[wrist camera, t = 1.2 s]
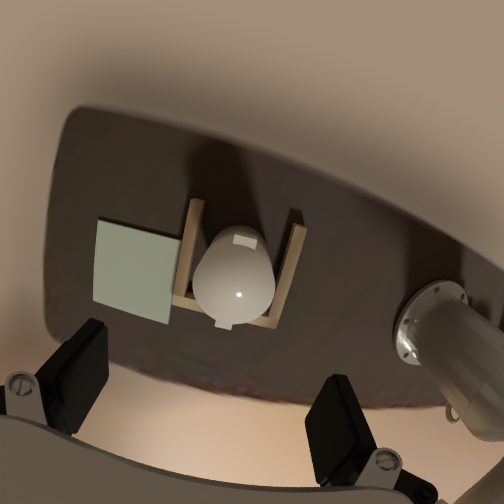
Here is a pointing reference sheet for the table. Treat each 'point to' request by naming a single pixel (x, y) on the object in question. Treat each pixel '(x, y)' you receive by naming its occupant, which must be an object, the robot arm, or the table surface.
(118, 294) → the sage tile
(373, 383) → the table surface
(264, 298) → the labeled white canister
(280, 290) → the oak stall
